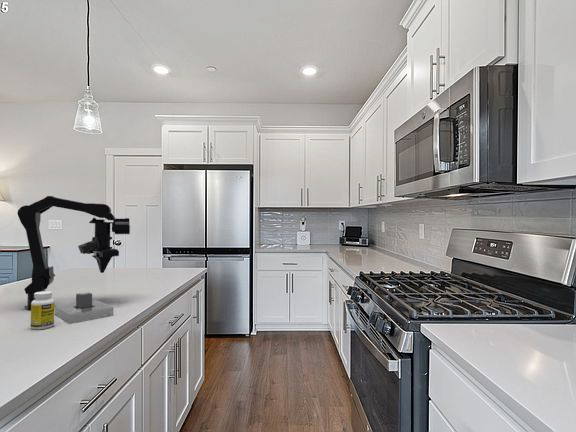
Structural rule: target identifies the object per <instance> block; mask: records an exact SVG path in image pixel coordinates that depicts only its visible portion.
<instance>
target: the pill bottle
mask: <svg viewBox="0 0 576 432" xmlns="http://www.w3.org/2000/svg"><path fill="white" fill-rule="evenodd" d="M52 297H53V292H52V291H50V290H46V291H42V292H36V293H34V298H35V300H33V301H32V303H31V310H30V329H31V330H38V331H39V330H45V329H51V328H52V327H53V326H55V299H54V298H52Z"/></svg>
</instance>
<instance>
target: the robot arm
mask: <svg viewBox="0 0 576 432" xmlns="http://www.w3.org/2000/svg"><path fill="white" fill-rule="evenodd" d="M53 207H54V208H55V207H56V208H60V209H66V210H72V211H78V212H83V213H86V214H89V215H91V216H94V217H93V218H92V219H91V220H90V221H89V224H94V236H93V237H92V238H91V240H90V241H87V242H85V243H82V244H79V245H78V246H77V247H78V250H79V252H80V254H83V255H85V254H86V255H90V254H93V255H91V257H92V258H93V259H95V260H96V262H97V266H98V269H99V272H100V273H105V271H106V270H107V267H108V265H109V263H110V261H111V260H112V258H114V257H119V256H120V250H119V249H116V248H113V246H111V241H112V240H113V236H111V232H112V233H114V235H130V233H131V225H130V218H128V217H126V218H116V217H115V215H114V214H113V213H112V208H111V207H110V205H108V204H106V203H94V202H93V203H90V202H89V203H88V202H87V203H85V202H81V201H75V200H70V199H65V198H59V197H55V196H53V195H47V196H45V197H44V198H41V199H40V200H38V201H35V202H32V204H29V205H27V204H26V205H22V206H21V207H19V209H18V210H17V216H18V217H17V218H18V219H19V221H20V223H21V225H22V226H23V228H24V229H25V232H26V233H25V234H26V238H27V243H28V247H29V253H30V257H31V262H32V272H31V282H30V283H29V284H28V285H27V286H26V287H24V288H23V289H24V292H25V294H26V295H27V302H26V303H27V305H25V306H24V308H25V309H26V310H28V311H31V303H32V301H33V300H35V298H34V293H36V292H42V291H47V289H48V287H49V286H50V285H51V284H52V283H53V282H54V280H55V279H54V278H55V277H56V274H55V273H54V266H53V265H52V266H49V265H48V263H47V259H46V255H45V250H44V245H43V240H42V239H43V238H42V235H41V230H40V224H41V221H42V220H41V217H42V216H41V215H42V214H43V213H45V212H47V211H48V210H50V209H51V208H53ZM96 217H97V218H100V219H97V218H96ZM106 220H107V221H106Z"/></svg>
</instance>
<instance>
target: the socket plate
mask: <svg viewBox="0 0 576 432" xmlns="http://www.w3.org/2000/svg"><path fill="white" fill-rule="evenodd" d="M54 316H56V317H58V318H60V319H61V320H62V321H65V323H67V324H71V325H72V324H76V323H81V322H86V321H92V320H96V319H102V318H107V317H112V316H113V317H114V306H112V305H109V304H107V303H105V302H103V301H100V300H98V299H92V307H90V308H84V309H80V308H77V309H76V302H74V303H68V304H60V305H54Z"/></svg>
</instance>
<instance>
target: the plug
mask: <svg viewBox="0 0 576 432" xmlns="http://www.w3.org/2000/svg"><path fill="white" fill-rule="evenodd" d="M75 296H76V297H75V303H76V309H77V308H80V309H84V308H90V307H92V301H93V293H92V292H90V291H89V292H87V291H84V292H79V293H76V294H75Z"/></svg>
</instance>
